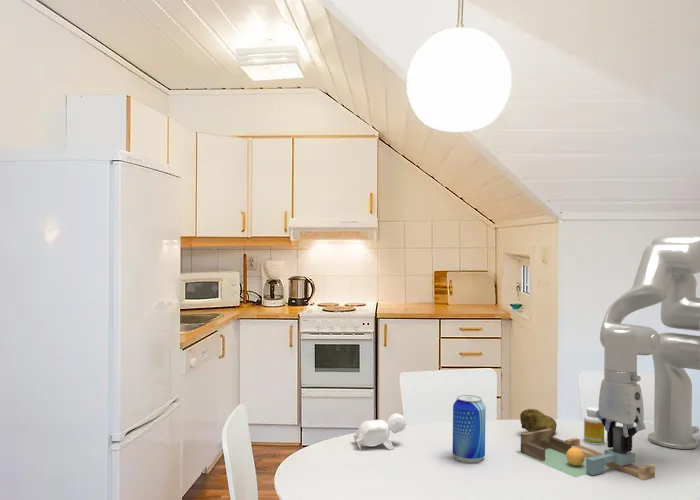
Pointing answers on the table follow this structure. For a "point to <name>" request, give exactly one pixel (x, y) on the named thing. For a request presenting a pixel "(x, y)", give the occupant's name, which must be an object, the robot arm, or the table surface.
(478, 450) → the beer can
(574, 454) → the ball
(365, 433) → the white turtle figurine
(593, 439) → the supplement bottle
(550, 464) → the felt mat
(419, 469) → the table surface
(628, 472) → the rail
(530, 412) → the potato
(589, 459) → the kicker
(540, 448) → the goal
